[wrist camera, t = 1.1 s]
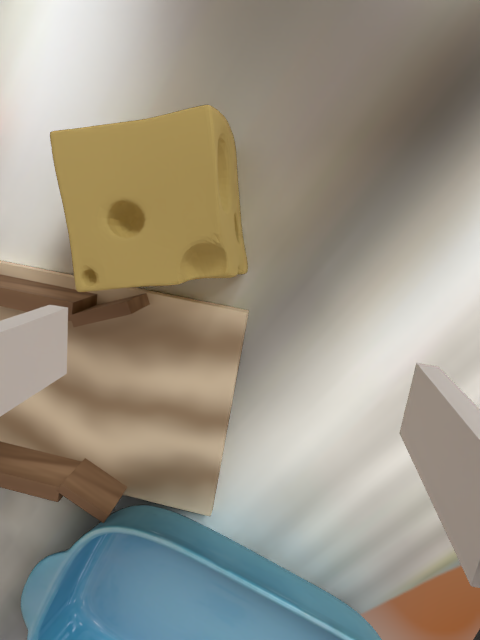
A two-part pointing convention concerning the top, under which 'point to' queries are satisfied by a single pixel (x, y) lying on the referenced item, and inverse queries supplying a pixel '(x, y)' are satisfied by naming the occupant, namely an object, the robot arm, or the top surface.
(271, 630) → the casserole dish
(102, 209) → the cheese
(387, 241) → the top surface
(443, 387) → the robot arm
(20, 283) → the slot board
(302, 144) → the top surface
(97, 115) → the top surface
